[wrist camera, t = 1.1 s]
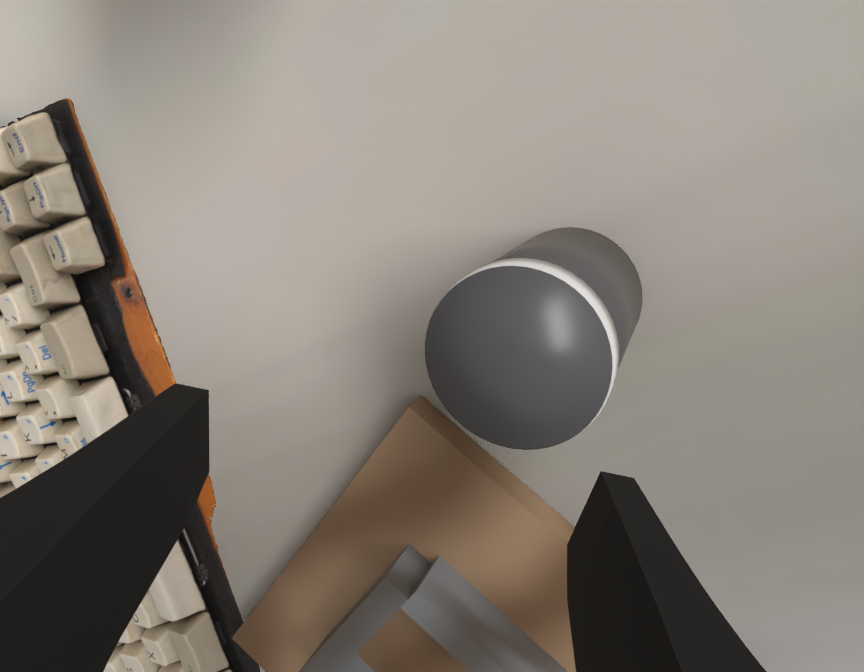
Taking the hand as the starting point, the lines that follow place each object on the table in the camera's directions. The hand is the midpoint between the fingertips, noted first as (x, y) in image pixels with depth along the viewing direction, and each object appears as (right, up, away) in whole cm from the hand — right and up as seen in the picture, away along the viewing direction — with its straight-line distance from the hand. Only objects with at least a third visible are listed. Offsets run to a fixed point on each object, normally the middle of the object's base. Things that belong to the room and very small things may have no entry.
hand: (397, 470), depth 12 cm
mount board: (+2, -11, +17) cm, 21 cm away
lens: (+5, +4, +10) cm, 12 cm away
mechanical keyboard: (-18, -5, +25) cm, 32 cm away
